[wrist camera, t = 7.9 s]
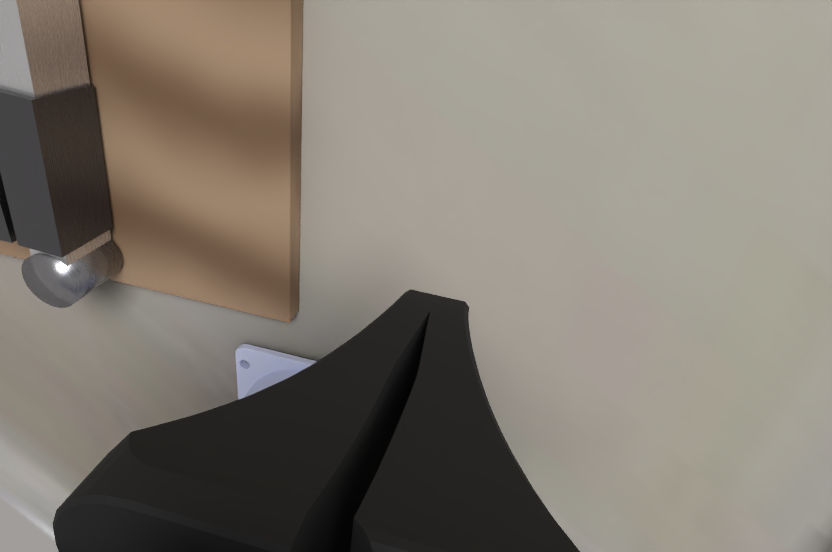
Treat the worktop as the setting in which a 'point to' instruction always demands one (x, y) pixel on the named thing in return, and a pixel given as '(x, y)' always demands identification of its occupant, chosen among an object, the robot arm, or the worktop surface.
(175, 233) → the board
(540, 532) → the robot arm
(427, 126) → the worktop surface
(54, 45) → the bar
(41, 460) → the worktop surface
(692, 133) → the worktop surface
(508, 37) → the worktop surface
